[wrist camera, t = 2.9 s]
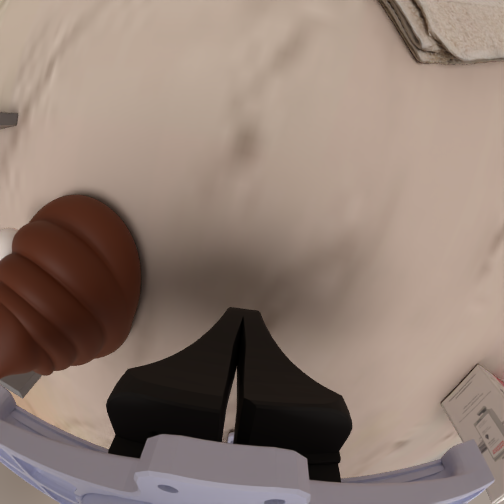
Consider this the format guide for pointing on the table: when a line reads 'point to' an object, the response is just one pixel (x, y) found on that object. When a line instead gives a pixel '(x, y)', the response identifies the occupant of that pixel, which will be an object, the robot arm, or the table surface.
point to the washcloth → (450, 29)
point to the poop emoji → (66, 287)
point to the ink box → (481, 421)
